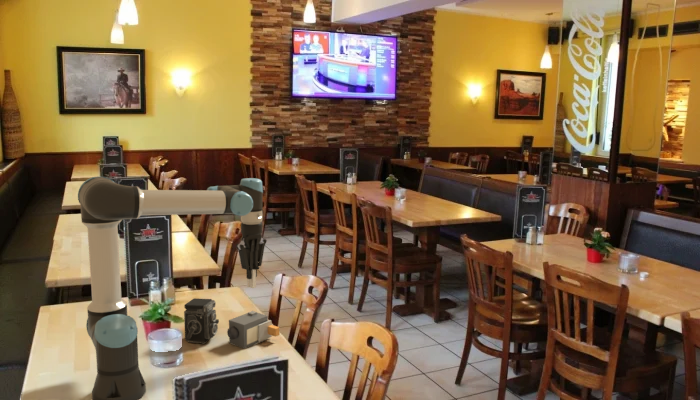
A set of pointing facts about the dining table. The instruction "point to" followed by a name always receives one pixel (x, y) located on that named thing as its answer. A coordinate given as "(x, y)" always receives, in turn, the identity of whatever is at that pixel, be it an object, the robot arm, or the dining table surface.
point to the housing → (245, 329)
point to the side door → (267, 330)
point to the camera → (200, 320)
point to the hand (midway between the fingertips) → (251, 286)
